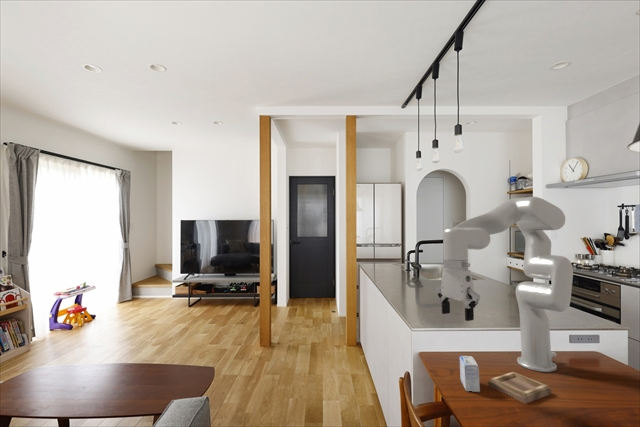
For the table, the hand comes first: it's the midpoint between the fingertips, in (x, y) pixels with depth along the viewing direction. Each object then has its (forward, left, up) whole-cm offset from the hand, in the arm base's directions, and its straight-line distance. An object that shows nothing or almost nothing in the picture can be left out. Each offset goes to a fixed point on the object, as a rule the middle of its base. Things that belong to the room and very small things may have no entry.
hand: (457, 316), depth 109 cm
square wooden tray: (-17, +9, -24) cm, 30 cm away
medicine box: (-5, 0, -24) cm, 24 cm away
